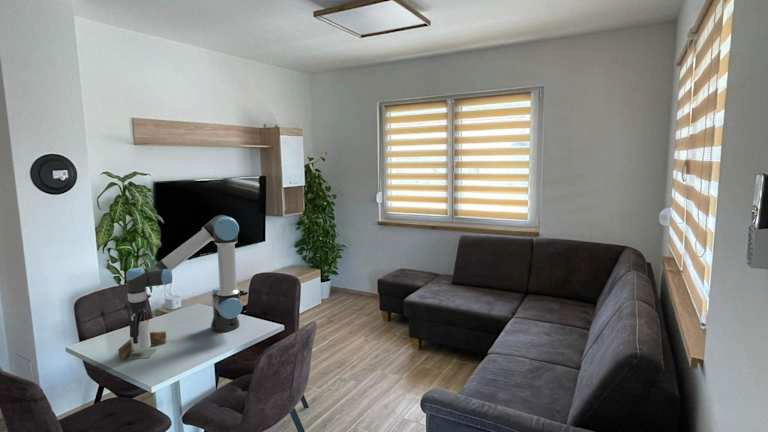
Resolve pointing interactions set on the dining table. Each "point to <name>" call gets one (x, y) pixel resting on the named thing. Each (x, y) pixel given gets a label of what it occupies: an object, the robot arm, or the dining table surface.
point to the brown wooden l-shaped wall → (154, 339)
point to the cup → (143, 335)
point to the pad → (141, 354)
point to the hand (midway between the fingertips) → (141, 345)
